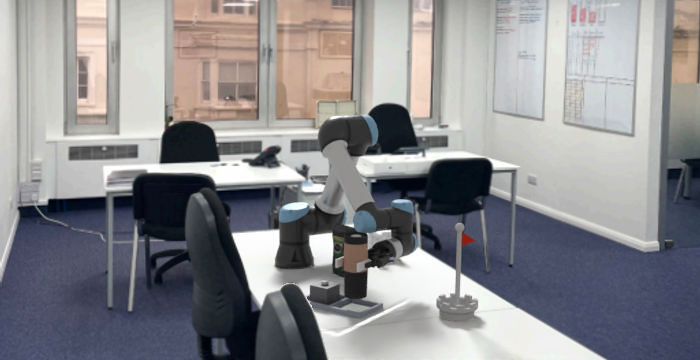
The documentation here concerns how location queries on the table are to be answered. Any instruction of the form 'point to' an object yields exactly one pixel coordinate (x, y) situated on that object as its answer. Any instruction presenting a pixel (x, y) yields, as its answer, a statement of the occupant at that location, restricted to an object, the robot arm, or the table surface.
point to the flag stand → (458, 289)
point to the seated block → (325, 292)
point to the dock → (349, 306)
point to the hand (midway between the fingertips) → (346, 265)
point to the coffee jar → (339, 246)
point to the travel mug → (355, 265)
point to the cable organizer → (377, 237)
